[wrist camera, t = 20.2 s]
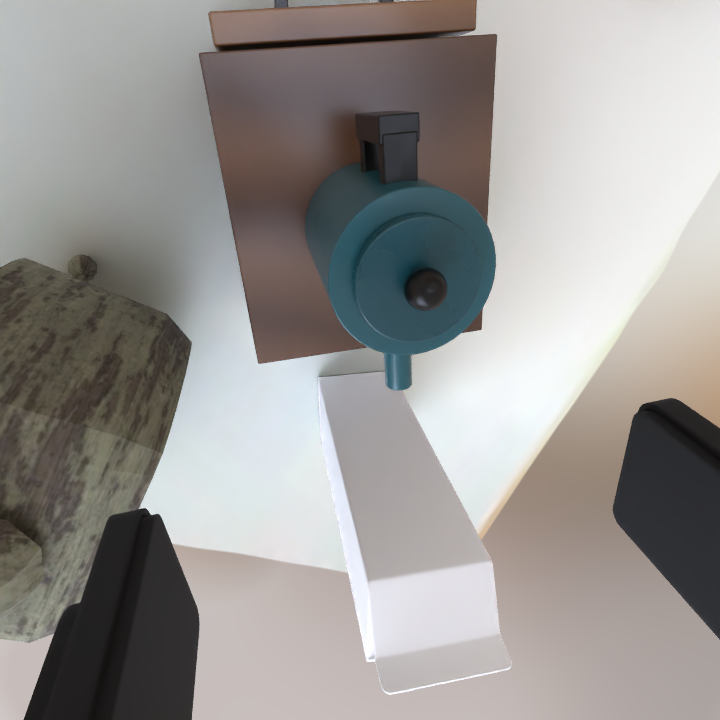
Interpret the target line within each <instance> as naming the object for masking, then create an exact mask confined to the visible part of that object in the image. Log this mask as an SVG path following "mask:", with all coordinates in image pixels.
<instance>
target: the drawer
mask: <svg viewBox="0 0 720 720" xmlns="http://www.w3.org/2000/svg"><path fill="white" fill-rule="evenodd" d="M476 3H477V0H420V1H401V2H393V0H379V3H362V4H343V5H324V6H305V7H288V0H274V6H275V8H267V9H248V10H228V11H210V12H209V14H208V15H209V21H210V26H211V32H212V38H213V43H214V46H215V47H216V49H217V51H218V52H221V51H236V50H252V49H268V48H283V47H299V46H315V45H331V44H346V43H362V42H378V41H393V40H409V39H425V38H441V37H456V36H460V35H463V34H465V33H468V32H471V31H474V30H475V28H476Z"/></svg>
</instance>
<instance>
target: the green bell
mask: <svg viewBox="0 0 720 720" xmlns="http://www.w3.org/2000/svg"><path fill="white" fill-rule="evenodd" d="M68 272H69V273H70V274H71V275H72V276H73V277H72V276H69V275H67V274H64V273H62V272H59V271H57V270H54V269H52V268H49V267H47V266H44V265H42V264H39V263H36V262H34V261H31V260H29V259H26V258H23V259H18V260H15V261H12V262H10V263H8V264H6V265H4V266H2V267H1V268H0V639H5V640H14V641H21V642H29V643H30V642H32V641H35V640H38V639H40V638H43V637H46V636H48V635H51V634H54V633H55V630H56V627H57V625H58V622H59V620H60V618H61V616H62V614H63V612H64V611H65V610H66V609H67V607H68V606H70V605H73V604H76V603H80V602H81V599H82V595H83V592H84V589H85V586H86V583H87V580H88V577H89V574H90V571H91V568H92V565H93V562H94V559H95V556H96V553H97V550H98V546H99V543H100V540H101V537H102V534H103V531H104V528H105V525H106V522H107V520H108V518H109V517H110V516H111V515H114V514H119V513H124V512H128V511H133V510H138V509H139V507H140V505H141V502H142V500H143V498H144V496H145V494H146V491H147V489H148V487H149V485H150V482H151V480H152V478H153V475H154V473H155V471H156V468H157V466H158V463H159V461H160V458H161V456H162V454H163V451H164V448H165V444H166V441H167V438H168V435H169V432H170V429H171V426H172V422H173V419H174V415H175V412H176V408H177V404H178V400H179V397H180V393H181V389H182V385H183V381H184V377H185V374H186V369H187V365H188V360H189V355H190V351H191V344H192V343H191V341H190V340H189V339H188V338H187V336H186V335H185V334H184V333H183V332H182V331H181V330H180V328H179V327H178V326H177V325H176V324H175V323H174V322H173V320H172V319H171V318H170V317H169V316H168V315H167V314H165V313H163V312H160V311H158V310H155V309H153V308H150V307H148V306H145V305H143V304H140V303H138V302H135V301H133V300H130V299H127V298H125V297H122V296H120V295H117V294H115V293H112V292H110V291H107V290H105V289H102V288H100V287H97V286H95V285H92V284H90V283H89V282H88V280H91V279H93V278H94V276H95V275H96V274H97V264H96V263H95V262H94V261H93V260H92V259H91V258H90V257H88V256H84V255H79V256H75V257H73V258H72V259H71V260H70V261H69V262H68Z"/></svg>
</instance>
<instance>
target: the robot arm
mask: <svg viewBox="0 0 720 720" xmlns="http://www.w3.org/2000/svg"><path fill="white" fill-rule="evenodd" d="M614 501H615V502H614V505H613V513H614V517H615V519H616V521H617V523H618V524H619V526H620V527H621V528H622V529H623V530H624V531H625V533H626V534H627V535H628V536H629V537H630V538H631V539H632V540H633V542H634V543H635V544H636V545H637V546H638V547H639V548H640V549H641V551H642V552H643V553H644V554H645V555H646V556H647V557H648V559H649V560H650V561H651V562H652V563H653V564H654V565H655V567H656V568H657V569H658V570H659V571H660V572H661V573H662V575H663V576H664V577H665V578H666V579H667V580H668V581H669V582H670V584H671V585H672V586H673V587H674V588H675V589H676V590H677V591H678V593H679V594H680V595H681V596H682V597H683V598H684V599H685V601H687V603H688V604H689V605H690V606H691V607H692V608H693V609H694V611H695V612H696V613H697V614H698V615H699V616H700V617H701V619H702V620H703V621H704V622H705V623H706V624H707V625H708V627H709V628H710V629H711V630H712V631H713V632H714V633H715V635H716V636H717V637H718V638H719V639H720V428H719V427H717V426H716V425H714V424H713V423H711V422H710V421H708V420H707V419H705V418H704V417H702V416H701V415H699V414H698V413H697V412H695V411H694V410H692V409H691V408H690V407H688V406H687V405H685V404H684V403H682V402H681V401H679V400H677V399H673V398H669V399H664V400H659V401H654V402H650V403H646V404H643V405H642V406H641V407H640V408H639V411H638V413H636V414H635V415H634V417H633V420H632V425H631V429H630V434H629V439H628V443H627V447H626V452H625V456H624V460H623V465H622V470H621V474H620V479H619V483H618V487H617V492H616V496H615V500H614ZM198 638H199V614H198V609H197V606H196V603H195V601H194V598H193V596H192V593H191V591H190V588H189V586H188V583H187V581H186V578H185V576H184V573H183V571H182V568H181V566H180V563H179V561H178V558H177V555H176V553H175V551H174V548H173V545H172V543H171V540H170V538H169V535H168V533H167V530H166V528H165V525H164V523H163V520H162V518H161V516H160V515H159V514H155V515H150V513H149V511H148V510H147V509H146V508H143V509H138V510H133V511H128V512H124V513H119V514H114V515H111V516H110V517H109V518H108V520H107V522H106V525H105V528H104V531H103V534H102V537H101V540H100V543H99V546H98V550H97V553H96V556H95V559H94V562H93V565H92V568H91V571H90V574H89V577H88V580H87V583H86V586H85V589H84V592H83V595H82V599H81V602H80V603H76V604H73V605H70V606H68V607H67V609H66V610H65V611H64V612H63V614H62V616H61V618H60V620H59V622H58V625H57V627H56V630H55V633H54V636H53V639H52V642H51V644H50V647H49V650H48V653H47V656H46V658H45V661H44V664H43V667H42V670H41V672H40V675H39V678H38V681H37V684H36V687H35V689H34V692H33V695H32V698H31V700H30V703H29V706H28V709H27V712H26V715H25V717H24V720H192V708H193V697H194V685H195V672H196V662H197V650H198Z"/></svg>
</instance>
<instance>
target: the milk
mask: <svg viewBox="0 0 720 720" xmlns="http://www.w3.org/2000/svg"><path fill="white" fill-rule="evenodd" d="M318 394H319V419H320V440H321V445H322V449H323V454H324V459H325V464H326V469H327V473H328V478H329V483H330V488H331V493H332V497H333V502H334V507H335V512H336V517H337V522H338V526H339V531H340V536H341V541H342V546H343V550H344V555H345V560H346V565H347V570H348V574H349V579H350V584H351V589H352V593H353V598H354V603H355V608H356V612H357V618H358V622H359V627H360V632H361V637H362V642H363V646H364V651H365V656H366V661H367V662H370V661H375V663H376V667H377V671H378V676H379V681H380V685H381V688H382V689H383V691H384V692H385V693H387V694H396V693H401V692H406V691H410V690H415V689H420V688H424V687H429V686H434V685H438V684H443V683H448V682H453V681H457V680H462V679H467V678H472V677H476V676H481V675H486V674H490V673H495V672H500V671H505V670H508V669H509V668H511V666H512V659H511V656H510V654H509V652H508V650H507V648H506V646H505V643H504V642H503V639H502V637H501V635H500V628H499V619H498V609H497V599H496V590H495V580H494V571H493V563H492V560H491V558H490V556H489V554H488V553H487V551H486V549H485V547H484V545H483V543H482V541H481V539H480V537H479V536H478V534H477V532H476V530H475V528H474V526H473V524H472V522H471V520H470V519H469V517H468V515H467V513H466V511H465V509H464V507H463V505H462V503H461V502H460V500H459V498H458V496H457V494H456V492H455V490H454V488H453V486H452V484H451V483H450V481H449V479H448V477H447V475H446V473H445V471H444V469H443V467H442V466H441V464H440V462H439V460H438V458H437V456H436V454H435V452H434V450H433V449H432V447H431V445H430V443H429V441H428V439H427V437H426V435H425V433H424V432H423V430H422V428H421V426H420V424H419V422H418V420H417V418H416V416H415V415H414V413H413V411H412V409H411V407H410V405H409V403H408V401H407V399H406V397H405V396H404V394H403V392H402V390H399V391H398V390H391V389H389V388H388V387H387V386H386V384H385V371H381V372H370V373H360V374H349V375H338V376H327V377H319V378H318Z"/></svg>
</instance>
